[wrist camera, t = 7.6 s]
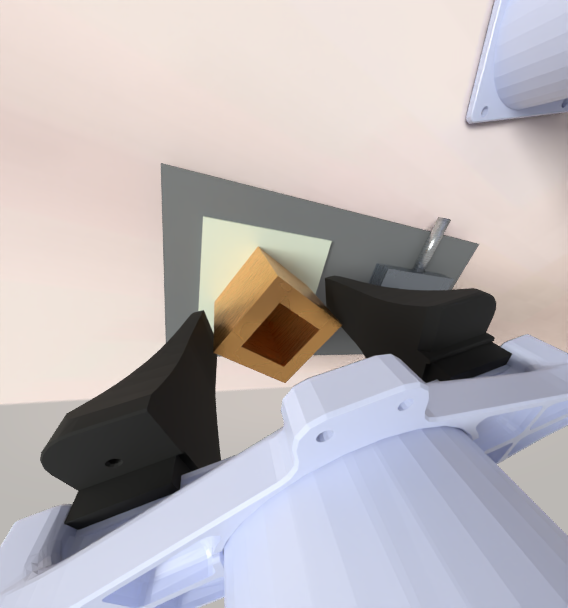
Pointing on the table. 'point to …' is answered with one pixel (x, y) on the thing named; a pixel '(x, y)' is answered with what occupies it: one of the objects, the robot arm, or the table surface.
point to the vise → (416, 267)
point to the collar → (270, 319)
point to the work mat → (277, 244)
